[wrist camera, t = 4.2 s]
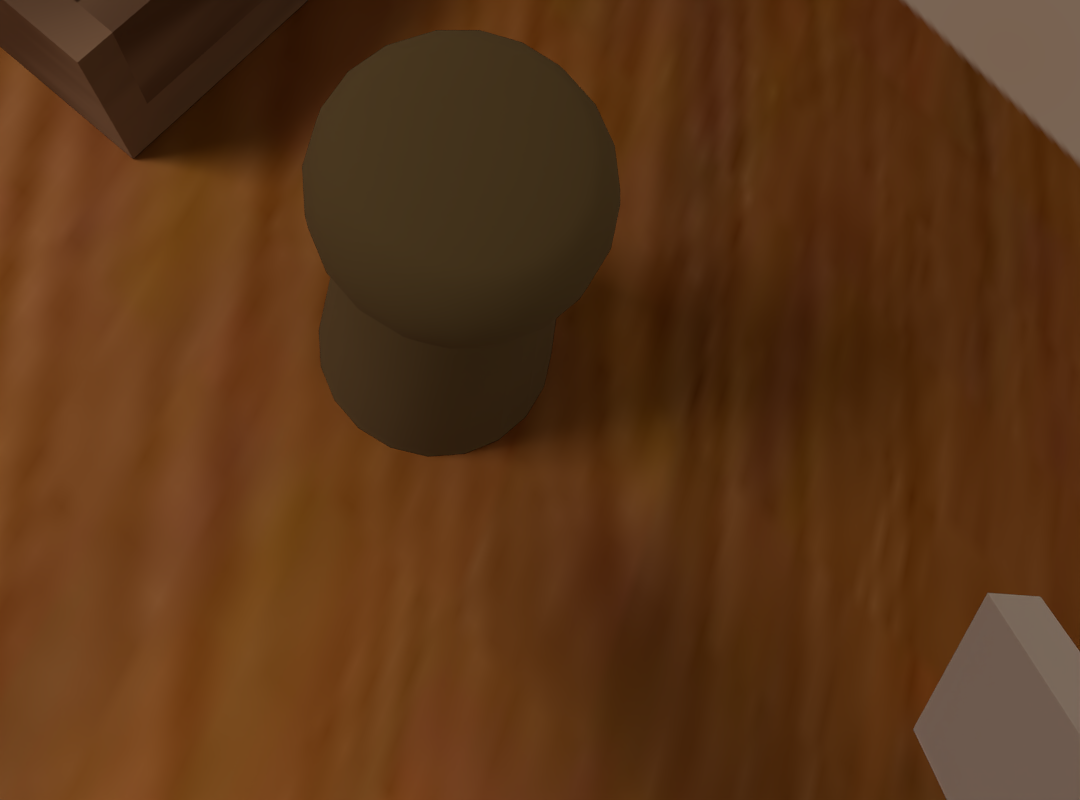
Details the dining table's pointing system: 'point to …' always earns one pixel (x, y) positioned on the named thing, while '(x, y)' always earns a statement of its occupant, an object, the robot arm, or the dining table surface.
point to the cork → (453, 233)
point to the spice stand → (135, 54)
